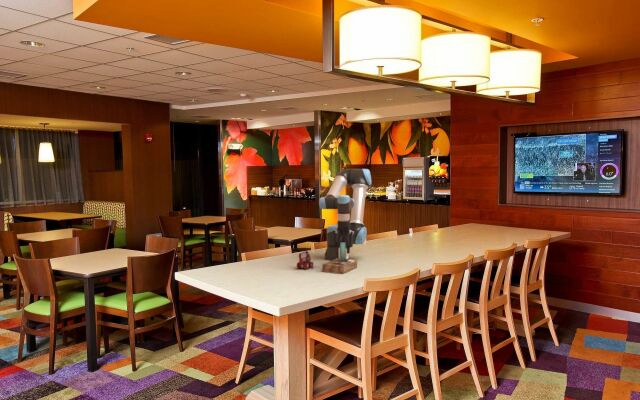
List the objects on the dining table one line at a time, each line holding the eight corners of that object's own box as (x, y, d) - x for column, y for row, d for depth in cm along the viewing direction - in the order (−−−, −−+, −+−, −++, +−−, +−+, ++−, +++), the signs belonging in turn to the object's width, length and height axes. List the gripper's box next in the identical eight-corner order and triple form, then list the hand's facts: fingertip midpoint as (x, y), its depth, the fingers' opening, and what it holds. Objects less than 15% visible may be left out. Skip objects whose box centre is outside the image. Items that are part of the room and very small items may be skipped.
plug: (339, 264, 295) (339, 243, 294) (341, 262, 299) (341, 242, 298) (345, 264, 293) (345, 243, 293) (347, 263, 297) (347, 242, 296)
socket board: (322, 271, 286) (322, 263, 286) (336, 265, 304) (336, 257, 304) (343, 273, 280) (343, 265, 280) (357, 267, 298) (357, 259, 297)
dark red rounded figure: (315, 267, 300) (315, 250, 299) (304, 270, 289) (304, 253, 289) (305, 266, 303) (305, 249, 303) (295, 269, 293) (295, 252, 292)
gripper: (328, 220, 295) (328, 258, 296) (353, 221, 287) (353, 260, 289) (333, 219, 302) (333, 256, 303) (358, 220, 294) (358, 258, 295)
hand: (343, 258), depth 296 cm, fingers closed on plug, 4 cm apart
